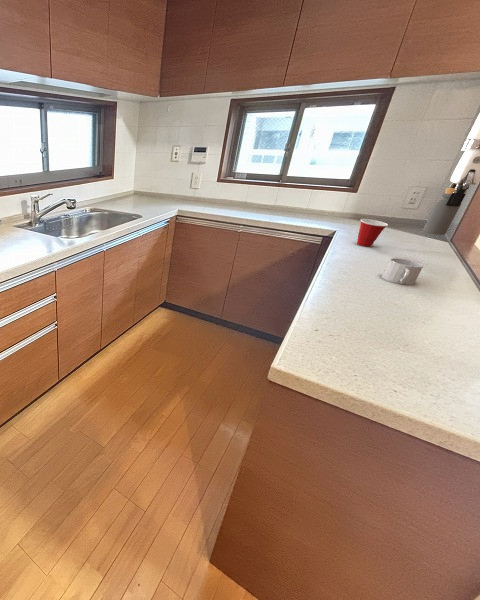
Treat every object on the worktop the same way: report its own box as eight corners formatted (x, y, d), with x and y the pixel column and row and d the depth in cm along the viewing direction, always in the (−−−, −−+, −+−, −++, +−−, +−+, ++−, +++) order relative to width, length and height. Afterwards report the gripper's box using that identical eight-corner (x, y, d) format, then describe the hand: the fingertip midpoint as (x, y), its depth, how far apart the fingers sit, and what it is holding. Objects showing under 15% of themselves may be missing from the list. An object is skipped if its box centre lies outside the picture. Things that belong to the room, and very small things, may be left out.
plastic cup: (370, 249, 156) (381, 224, 151) (346, 243, 165) (355, 219, 159) (382, 247, 160) (394, 222, 155) (358, 241, 169) (368, 218, 163)
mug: (380, 273, 127) (388, 256, 124) (411, 279, 122) (420, 261, 119) (384, 283, 118) (392, 265, 115) (418, 290, 113) (428, 271, 110)
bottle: (445, 235, 111) (470, 190, 104) (422, 232, 114) (444, 188, 108) (444, 233, 115) (468, 188, 108) (422, 229, 118) (443, 186, 112)
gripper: (508, 146, 94) (473, 210, 102) (488, 146, 106) (458, 202, 114) (471, 145, 98) (440, 206, 106) (456, 145, 110) (429, 200, 118)
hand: (449, 204), depth 110 cm, fingers closed on bottle, 5 cm apart
